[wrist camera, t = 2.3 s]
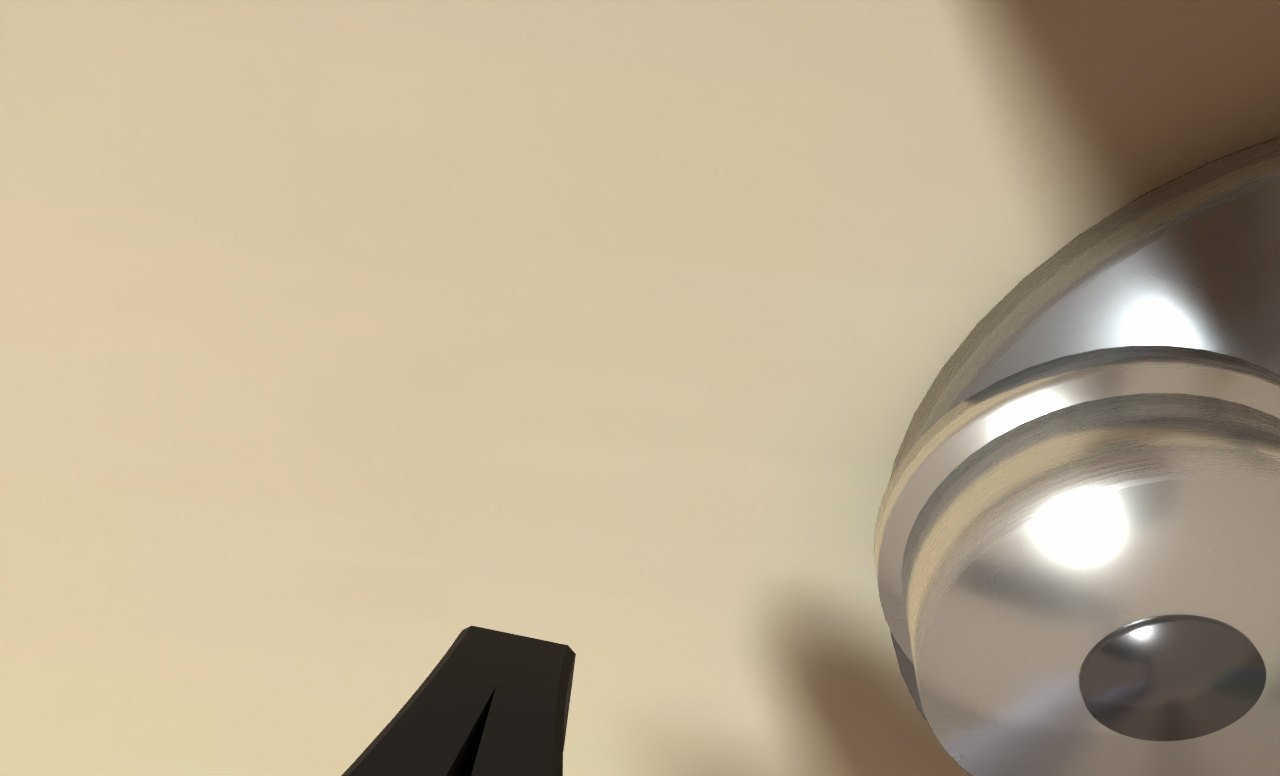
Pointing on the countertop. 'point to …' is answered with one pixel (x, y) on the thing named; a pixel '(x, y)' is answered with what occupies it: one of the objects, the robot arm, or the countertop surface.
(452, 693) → the robot arm
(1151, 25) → the countertop surface
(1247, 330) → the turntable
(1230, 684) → the cover
